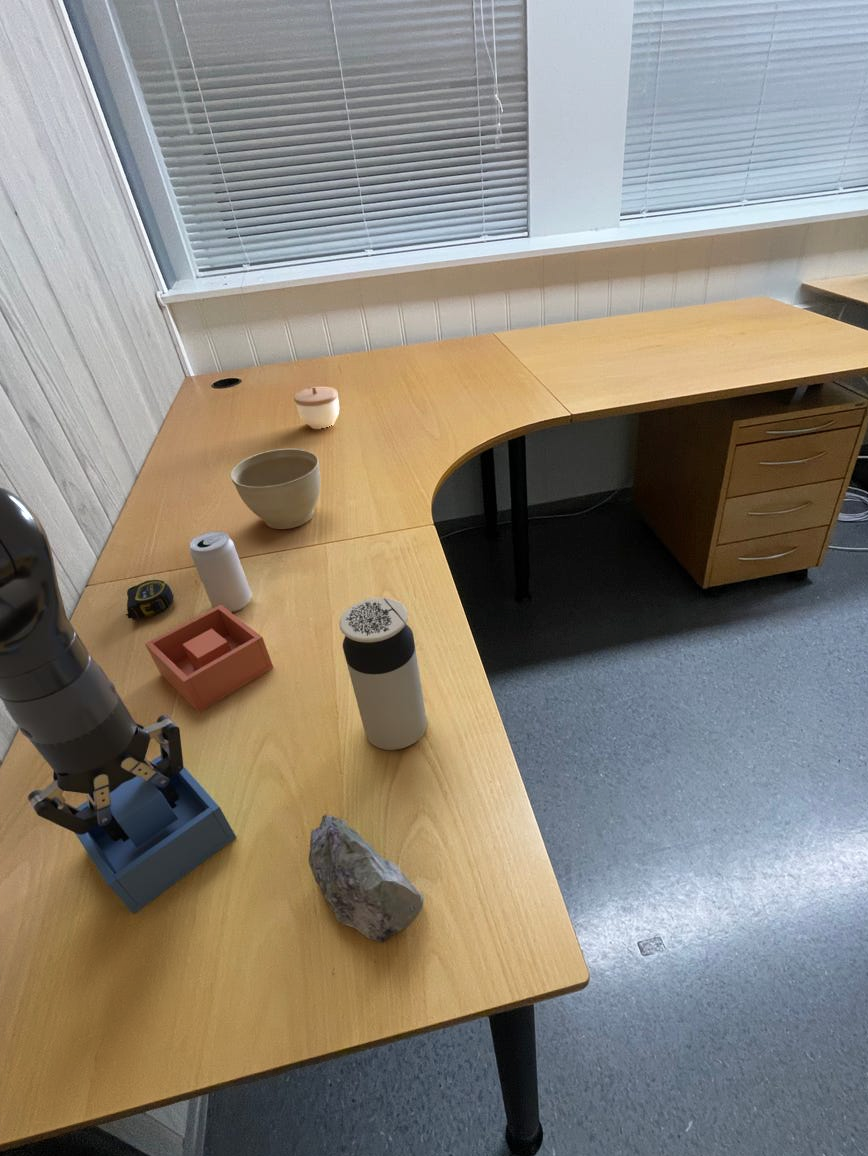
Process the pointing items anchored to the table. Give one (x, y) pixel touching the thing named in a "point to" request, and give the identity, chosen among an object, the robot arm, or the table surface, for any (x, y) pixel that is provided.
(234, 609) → the beverage can
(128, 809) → the blue block
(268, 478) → the planter bowl
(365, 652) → the travel mug
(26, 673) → the robot arm
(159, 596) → the tape measure
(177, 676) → the terracotta bin
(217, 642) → the terracotta block
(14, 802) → the table surface
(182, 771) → the blue bin
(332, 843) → the mineral rock
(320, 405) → the trinket box
